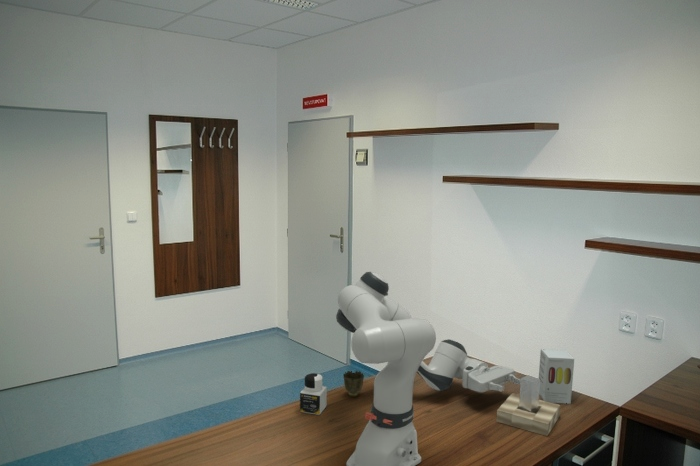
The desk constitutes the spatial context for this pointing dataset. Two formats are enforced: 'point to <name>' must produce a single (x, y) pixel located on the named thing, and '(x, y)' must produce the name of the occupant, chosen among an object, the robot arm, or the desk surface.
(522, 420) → the square nut
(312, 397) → the medicine bottle
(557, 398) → the supplement box
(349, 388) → the cup
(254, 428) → the desk surface
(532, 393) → the steel peg
